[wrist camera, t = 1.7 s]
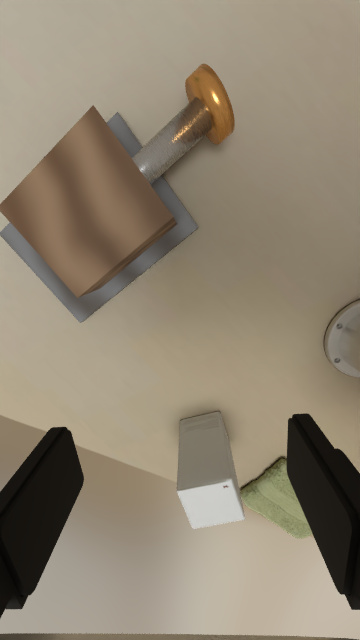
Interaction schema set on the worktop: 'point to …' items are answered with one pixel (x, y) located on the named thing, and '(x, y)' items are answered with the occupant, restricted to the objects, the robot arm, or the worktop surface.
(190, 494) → the supplement box
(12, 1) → the worktop surface
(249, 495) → the washcloth
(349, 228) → the worktop surface
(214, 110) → the shaft
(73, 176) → the bearing block
